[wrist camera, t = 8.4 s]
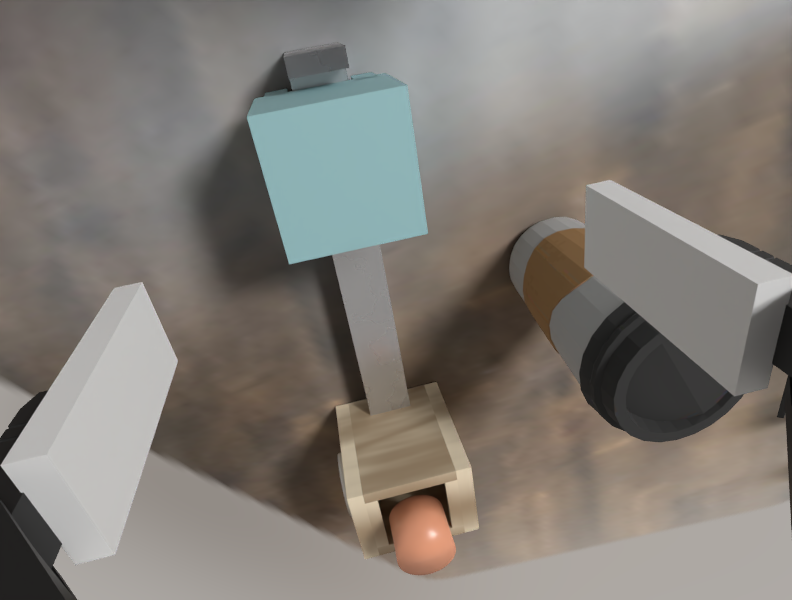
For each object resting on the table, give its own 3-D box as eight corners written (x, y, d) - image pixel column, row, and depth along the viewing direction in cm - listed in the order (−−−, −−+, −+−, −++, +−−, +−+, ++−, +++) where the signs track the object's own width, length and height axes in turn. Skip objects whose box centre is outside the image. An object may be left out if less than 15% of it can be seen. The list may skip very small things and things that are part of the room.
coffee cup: (528, 328, 40) (644, 475, 27) (470, 252, 36) (572, 382, 23) (621, 260, 39) (790, 382, 26) (571, 174, 35) (739, 266, 22)
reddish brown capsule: (384, 503, 33) (392, 544, 31) (439, 488, 34) (452, 528, 31) (393, 539, 35) (402, 581, 32) (446, 525, 35) (458, 565, 33)
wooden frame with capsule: (330, 407, 40) (340, 500, 33) (436, 381, 41) (471, 467, 33) (346, 463, 43) (359, 560, 35) (445, 438, 44) (478, 528, 36)
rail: (284, 52, 29) (283, 57, 25) (338, 42, 29) (344, 45, 25) (370, 413, 41) (378, 449, 38) (408, 404, 42) (418, 439, 38)
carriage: (256, 94, 29) (246, 116, 22) (380, 70, 30) (407, 85, 23) (289, 213, 32) (289, 264, 26) (399, 190, 33) (427, 233, 26)
